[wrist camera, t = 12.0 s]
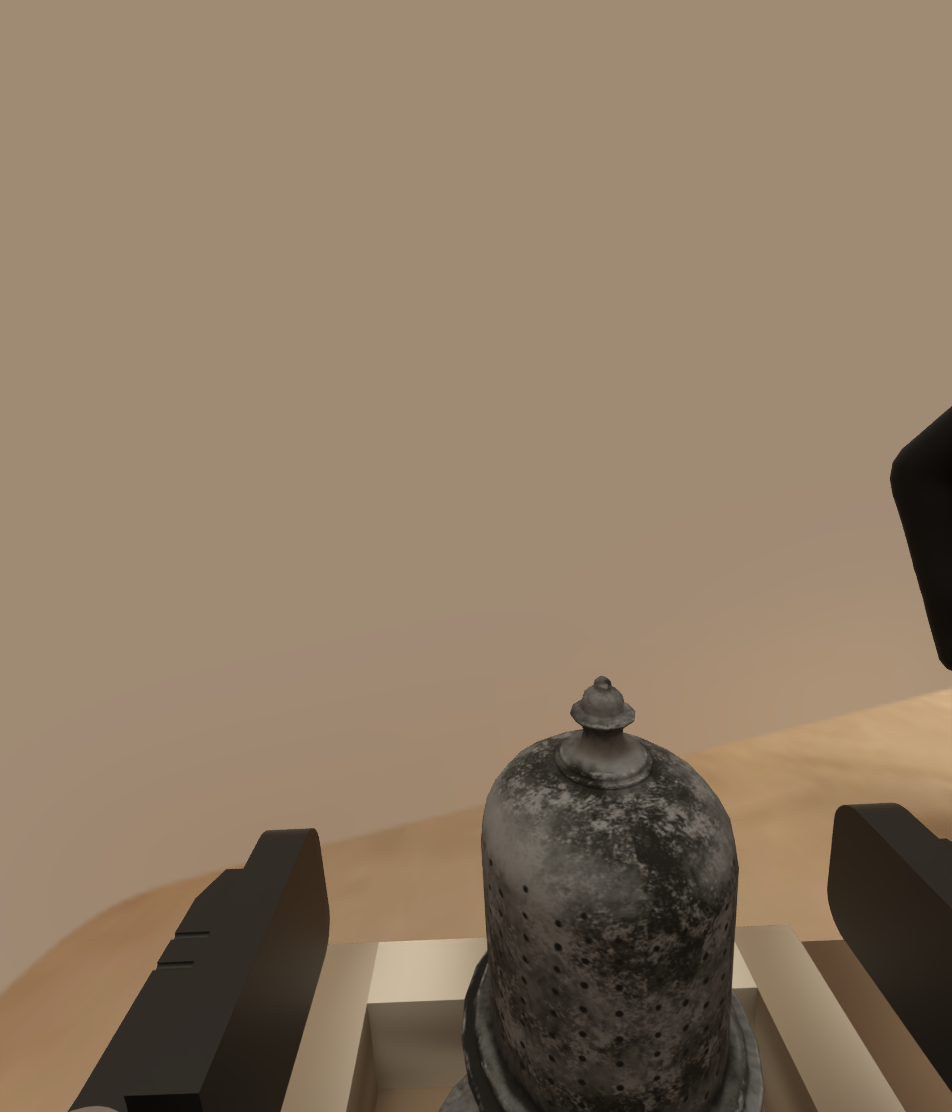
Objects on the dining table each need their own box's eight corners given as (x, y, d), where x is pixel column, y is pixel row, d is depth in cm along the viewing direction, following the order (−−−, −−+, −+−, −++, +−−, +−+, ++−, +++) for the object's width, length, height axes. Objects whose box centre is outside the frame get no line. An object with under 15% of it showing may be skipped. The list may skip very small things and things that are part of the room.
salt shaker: (705, 1146, 12) (733, 585, 9) (960, 1834, 6) (1234, 852, 3) (419, 1179, 11) (362, 610, 9) (399, 1935, 6) (213, 950, 3)
